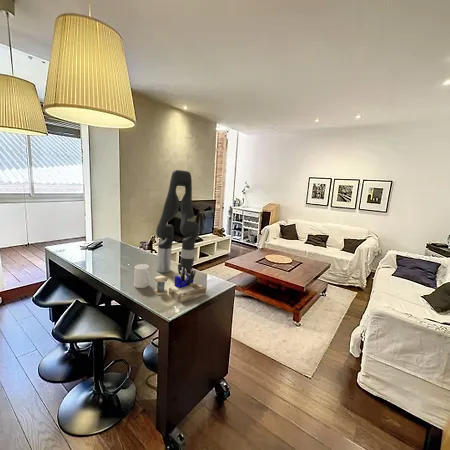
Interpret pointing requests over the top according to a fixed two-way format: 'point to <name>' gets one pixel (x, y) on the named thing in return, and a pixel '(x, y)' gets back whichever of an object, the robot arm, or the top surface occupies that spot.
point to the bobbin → (160, 285)
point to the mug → (141, 276)
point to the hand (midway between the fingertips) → (185, 283)
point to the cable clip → (181, 282)
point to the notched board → (187, 292)
